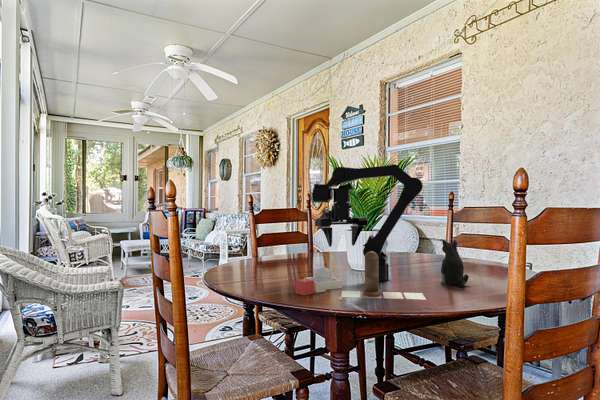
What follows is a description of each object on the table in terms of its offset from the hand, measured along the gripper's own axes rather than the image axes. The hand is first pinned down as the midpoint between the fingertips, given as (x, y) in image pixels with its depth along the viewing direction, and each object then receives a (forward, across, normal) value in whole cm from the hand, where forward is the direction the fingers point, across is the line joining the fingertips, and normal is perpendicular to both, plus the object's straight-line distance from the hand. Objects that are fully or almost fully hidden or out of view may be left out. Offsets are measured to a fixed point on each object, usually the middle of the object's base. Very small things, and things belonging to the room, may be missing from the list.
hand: (341, 246), depth 136 cm
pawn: (+11, +4, +26) cm, 28 cm away
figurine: (+12, -30, +23) cm, 40 cm away
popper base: (+12, +12, +10) cm, 20 cm away
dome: (+11, +12, +10) cm, 19 cm away
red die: (+12, +20, +14) cm, 27 cm away
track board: (+12, +1, +27) cm, 30 cm away
